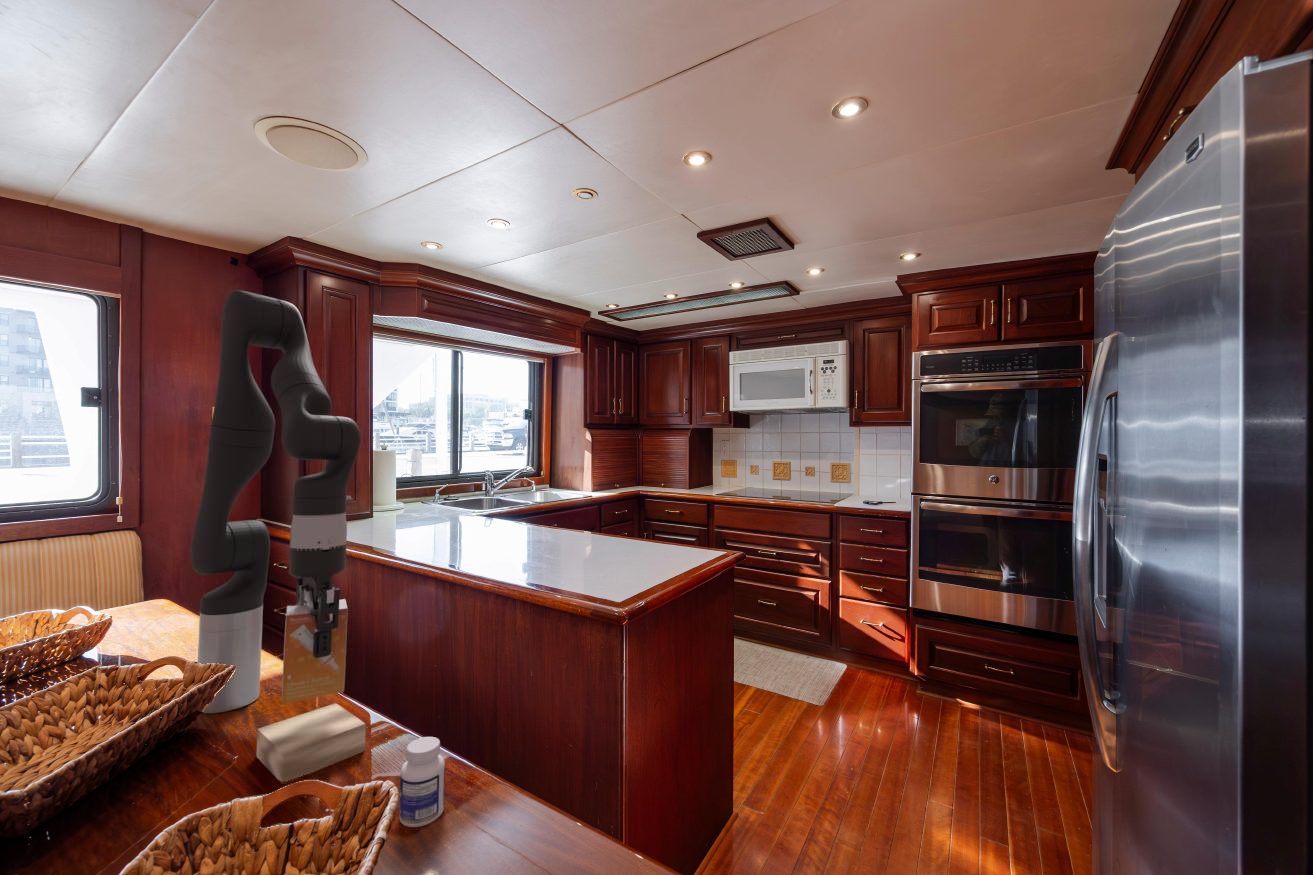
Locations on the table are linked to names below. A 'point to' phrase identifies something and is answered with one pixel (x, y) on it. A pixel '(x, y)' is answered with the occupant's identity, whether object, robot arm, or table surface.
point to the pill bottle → (422, 783)
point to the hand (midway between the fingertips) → (314, 649)
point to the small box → (312, 657)
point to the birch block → (310, 741)
